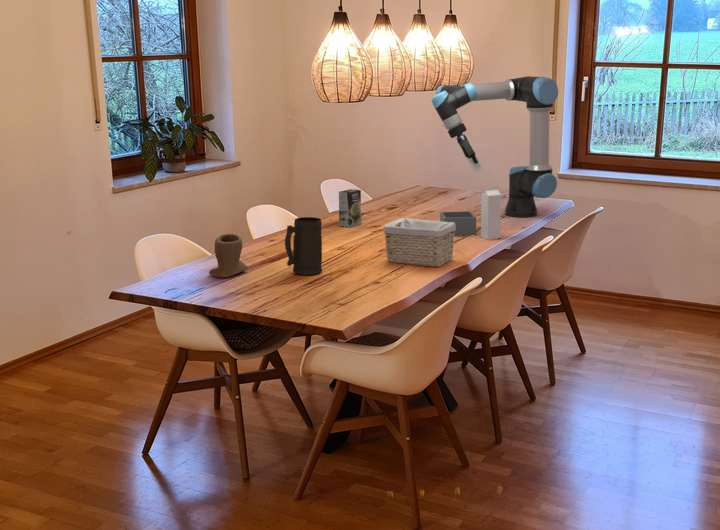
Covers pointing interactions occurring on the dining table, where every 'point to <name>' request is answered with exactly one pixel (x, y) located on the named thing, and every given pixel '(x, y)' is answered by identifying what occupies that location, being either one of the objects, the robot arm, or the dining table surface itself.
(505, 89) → the robot arm
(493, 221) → the milk
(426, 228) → the storage basket
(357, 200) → the coffee box
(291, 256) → the beer stein
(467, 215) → the tray
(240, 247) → the stone cup
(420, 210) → the dining table surface
